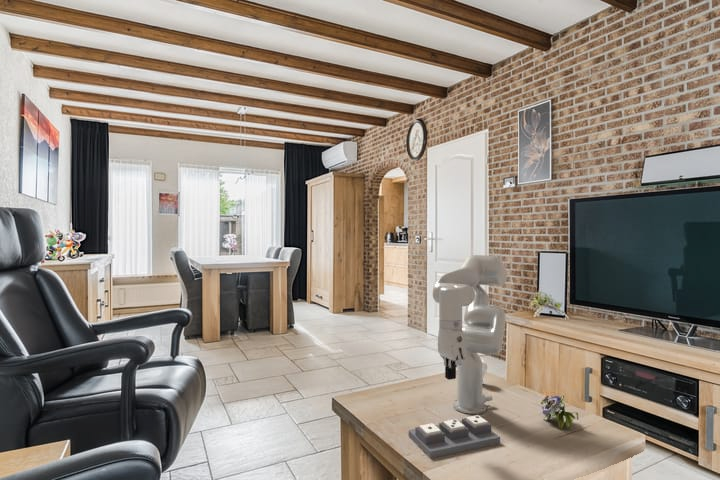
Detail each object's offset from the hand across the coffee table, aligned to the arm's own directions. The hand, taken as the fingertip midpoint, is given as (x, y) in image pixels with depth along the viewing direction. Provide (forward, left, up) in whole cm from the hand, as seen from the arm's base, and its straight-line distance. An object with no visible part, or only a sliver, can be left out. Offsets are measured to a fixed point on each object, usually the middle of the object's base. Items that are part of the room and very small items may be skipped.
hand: (450, 378), depth 132 cm
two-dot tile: (-9, +3, -17) cm, 19 cm away
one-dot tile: (+9, +3, -17) cm, 20 cm away
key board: (0, +3, -19) cm, 20 cm away
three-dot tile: (0, +3, -17) cm, 17 cm away
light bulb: (-40, -36, -20) cm, 57 cm away
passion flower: (-43, +5, -20) cm, 47 cm away
